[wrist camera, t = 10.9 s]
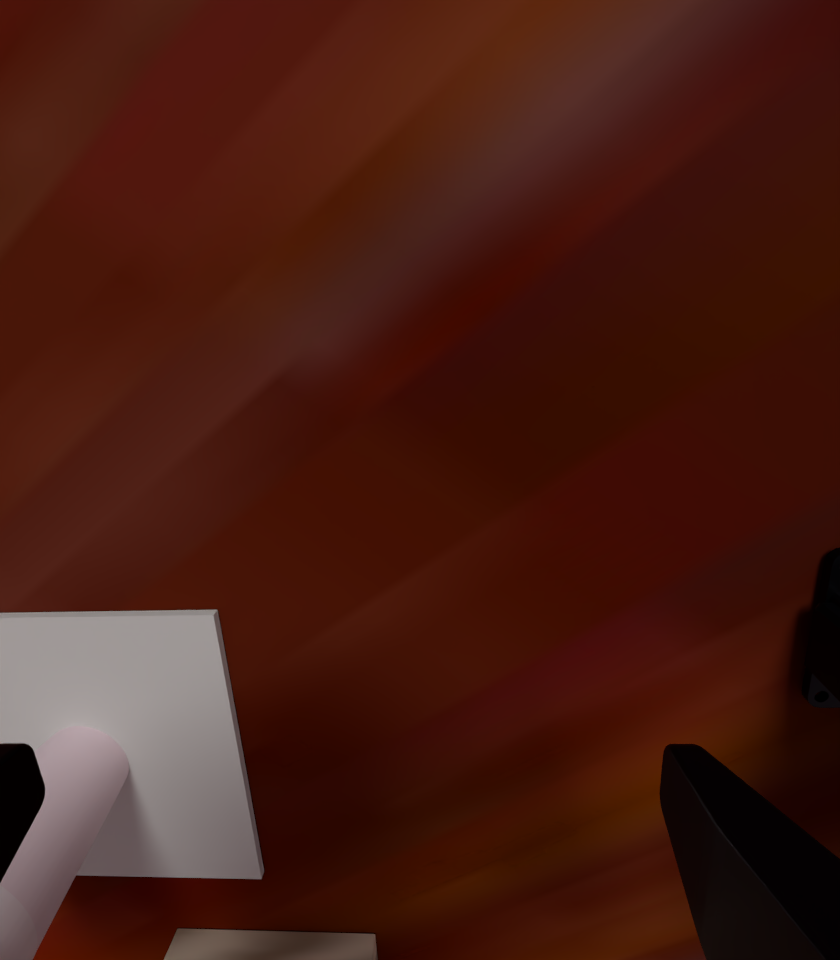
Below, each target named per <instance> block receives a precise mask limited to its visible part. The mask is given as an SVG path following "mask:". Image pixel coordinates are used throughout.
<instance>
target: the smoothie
mask: <svg viewBox="0 0 840 960" xmlns="http://www.w3.org/2000/svg"><path fill="white" fill-rule="evenodd" d="M34 753H35V756H36V759H37V762H38V765H39V768H40V771H41V775H42V778H43V781H44V784H45V797H44V801H43V804H42V806H41V808H40V810H39V812H38V814H37V816H36V817H35V819H34V821H33V823H32V825H31V827H30V829H29V831H28V832H27V834H26V836H25V838H24V840H23V842H22V844H21V845H20V847H19V849H18V851H17V853H16V855H15V857H14V858H13V860H12V862H11V864H10V866H9V868H8V870H7V872H6V873H5V875H4V877H3V879H2V881H1V883H0V960H33V958H34V955H35V953H36V951H37V949H38V947H39V945H40V943H41V941H42V940H43V938H44V936H45V934H46V932H47V930H48V928H49V926H50V924H51V922H52V920H53V918H54V917H55V915H56V913H57V911H58V909H59V907H60V905H61V903H62V901H63V899H64V897H65V895H66V894H67V892H68V890H69V888H70V886H71V884H72V882H73V880H74V878H75V876H76V874H77V872H78V871H79V869H80V867H81V865H82V863H83V861H84V859H85V857H86V855H87V853H88V851H89V849H90V848H91V846H92V844H93V842H94V840H95V838H96V836H97V834H98V832H99V830H100V828H101V826H102V825H103V823H104V821H105V819H106V817H107V815H108V813H109V811H110V809H111V807H112V805H113V803H114V802H115V800H116V798H117V796H118V794H119V792H120V790H121V788H122V786H123V784H124V782H125V780H126V778H127V776H128V773H129V763H128V759H127V756H126V754H125V752H124V750H123V749H122V747H121V746H120V745H119V744H118V743H117V742H116V741H115V740H114V739H113V738H111V737H110V736H109V735H107V734H105V733H104V732H102V731H99V730H97V729H94V728H90V727H85V726H71V727H67V728H64V729H61V730H59V731H58V732H56V733H55V734H54V735H53V736H52V737H50V738H49V739H48V740H47V741H46V742H44V743H43V744H42V745H41V746H40V747H39V748H37V749H36V750H35V751H34Z"/></svg>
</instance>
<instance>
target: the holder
mask: <svg viewBox="0 0 840 960" xmlns="http://www.w3.org/2000/svg"><path fill="white" fill-rule="evenodd" d="M164 960H378V956H377V947H376V937H375V934H361V933H324V932H288V931H251V930H215V929H179V928H178V929H177V931H176V933H175V935H174V938H173V940H172V942H171V944H170V947H169V949H168V951H167V953H166V956H165V958H164Z"/></svg>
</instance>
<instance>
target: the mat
mask: <svg viewBox="0 0 840 960" xmlns="http://www.w3.org/2000/svg"><path fill="white" fill-rule="evenodd" d="M71 726H85V727H90V728H94V729H97V730H99V731H102V732H104V733H105V734H107V735H109V736H110V737H111V738H113V739H114V740H115V741H116V742H117V743H118V744H119V745H120V746H121V747H122V749H123V750H124V752H125V754H126V756H127V759H128V763H129V773H128V776H127V778H126V780H125V782H124V784H123V786H122V788H121V790H120V792H119V794H118V796H117V798H116V800H115V802H114V803H113V805H112V807H111V809H110V811H109V813H108V815H107V817H106V819H105V821H104V823H103V825H102V826H101V828H100V830H99V832H98V834H97V836H96V838H95V840H94V842H93V844H92V846H91V848H90V849H89V851H88V853H87V855H86V857H85V859H84V861H83V863H82V865H81V867H80V869H79V871H78V872H77V874H76V875H82V876H130V877H178V878H227V879H262V876H263V873H264V866H263V861H262V855H261V850H260V844H259V839H258V833H257V827H256V822H255V816H254V811H253V805H252V799H251V794H250V788H249V783H248V777H247V772H246V766H245V760H244V755H243V749H242V744H241V738H240V732H239V727H238V721H237V716H236V710H235V705H234V699H233V693H232V688H231V682H230V677H229V671H228V665H227V660H226V654H225V649H224V643H223V638H222V632H221V626H220V621H219V615H218V610H163V611H95V612H27V613H0V744H3V743H25V744H28V745H30V746H31V747H32V748H33V750H34V751H35V750H36V749H37V748H39V747H40V746H41V745H42V744H43V743H44V742H46V741H47V740H48V739H49V738H50V737H52V736H53V735H54V734H55V733H56V732H58V731H59V730H61V729H64V728H67V727H71Z"/></svg>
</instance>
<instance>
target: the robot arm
mask: <svg viewBox="0 0 840 960" xmlns="http://www.w3.org/2000/svg"><path fill="white" fill-rule="evenodd" d="M805 666H806V668H805V674H804V679H803V685H802V695H803V696H804V698H805V699H806V700H807V701H808V702H809V703H810V704H811V705H812V706H814V707H819V708H840V548H836V549H834V550H832V551H831V552H830V553H829V554H828V555H827V557H826V559H825V563H824V569H823V574H822V580H821V585H820V591H819V597H818V602H817V606H816V608H815V609H814V614H813V620H812V625H811V631H810V636H809V642H808V647H807V653H806V658H805ZM820 691H821V693H819V694H818V695H816V693H818V692H820ZM44 797H45V784H44V781H43V778H42V775H41V771H40V768H39V765H38V762H37V759H36V756H35V753H34V750H33V748H32V747H31V746H30V745H28V744H25V743H3V744H0V883H1V881H2V879H3V877H4V875H5V873H6V872H7V870H8V868H9V866H10V864H11V862H12V860H13V858H14V857H15V855H16V853H17V851H18V849H19V847H20V845H21V844H22V842H23V840H24V838H25V836H26V834H27V832H28V831H29V829H30V827H31V825H32V823H33V821H34V819H35V817H36V816H37V814H38V812H39V810H40V808H41V806H42V804H43V801H44ZM660 802H661V808H662V812H663V816H664V819H665V823H666V826H667V830H668V833H669V837H670V840H671V844H672V847H673V851H674V854H675V858H676V861H677V865H678V868H679V872H680V875H681V879H682V882H683V886H684V889H685V893H686V896H687V900H688V903H689V907H690V910H691V914H692V917H693V920H694V924H695V927H696V930H697V933H698V937H699V940H700V943H701V946H702V949H703V951H704V954H705V957H706V960H840V859H839V858H838V857H836V856H835V855H834V854H833V853H831V852H830V851H829V850H828V849H826V848H825V847H824V846H823V845H822V844H820V843H819V842H818V841H817V840H815V839H814V838H813V837H812V836H810V835H809V834H808V833H807V832H806V831H804V830H803V829H802V828H801V827H799V826H798V825H797V824H796V823H794V822H793V821H792V820H791V819H790V818H788V817H787V816H786V815H785V814H783V813H782V812H781V811H780V810H778V809H777V808H776V807H775V806H774V805H772V804H771V803H770V802H769V801H767V800H766V799H765V798H764V797H762V796H761V795H760V794H759V793H758V792H756V791H755V790H754V789H753V788H751V787H750V786H749V785H748V784H746V783H745V782H744V781H743V780H742V779H740V778H739V777H738V776H737V775H735V774H734V773H733V772H732V771H730V770H729V769H728V768H727V767H726V766H724V765H723V764H722V763H721V762H719V761H718V760H717V759H716V758H714V757H713V756H712V755H711V754H710V753H708V752H707V751H706V750H705V749H703V748H702V747H700V746H698V745H695V744H669V745H667V746H666V748H665V750H664V754H663V763H662V774H661V784H660Z"/></svg>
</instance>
